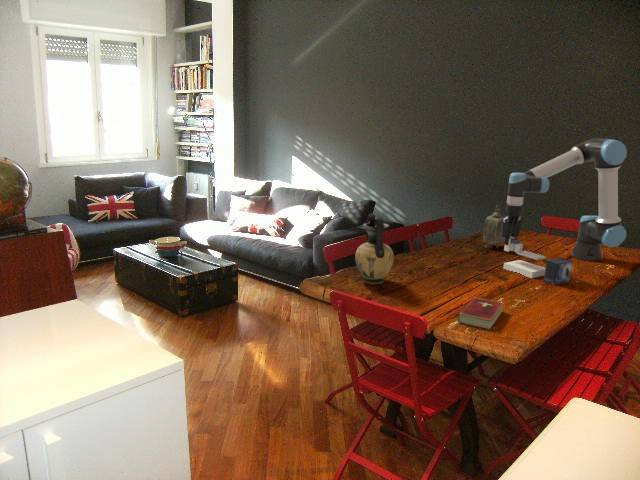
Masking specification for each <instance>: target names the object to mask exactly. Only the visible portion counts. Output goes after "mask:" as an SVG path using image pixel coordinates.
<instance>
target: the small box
mask: <svg viewBox="0 0 640 480" xmlns="http://www.w3.org/2000/svg"><path fill="white" fill-rule="evenodd" d="M573 263H574V262H573V260H570V259H566V258H564V257H559V258H551V259H547V260H546V263H545V268H546V269H545V275H544V277H543V282H546V283H547V284H551V285H553V286H556V285H557V286H558V285H562V284H569V283H570V280H571V274H572V269H573Z"/></svg>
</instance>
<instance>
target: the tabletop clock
mask: <svg viewBox="0 0 640 480" xmlns="http://www.w3.org/2000/svg"><path fill="white" fill-rule="evenodd" d="M500 209H501V205H500V203H498V204H496V206H495V212H493V213H492V214H491V215H488V216H487V217H486V218H485V220H484V225H483V226H484V227H483V233H482V234H483V235H482V241H483V242H487V244H486V245H484V248H485V249H487V248H488V246H489V244H490V245H492V246H494V244H496V245H495V248H496V249H499V248H500V247H499V244H500V243H502V242H504V241H502V240H500V237H501V236H502V226H503V222H502V218H506V216H505V217H504V216H503V215H502V213H501V212H499V211H500Z"/></svg>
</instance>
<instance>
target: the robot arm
mask: <svg viewBox="0 0 640 480" xmlns="http://www.w3.org/2000/svg"><path fill="white" fill-rule="evenodd" d="M627 153H628V150H627V147H626V145H625V144H624V143H623V142H622V141H620V140H616V139H610V138H600V137H597V138H596V137H595V138H591V139H589V140H585V141H584V142H581V143H579V144H577V145H574V146H573V147H572V148H571V150H568V151H566V152H565V153H562V154H560V155H558V156H556V157H554V158H551V159H550V160H548V161H546V162H544V163H542V164H540V165H538V166H535V167H533V168H531V169H529V170H526V171H524V172H512V173H510V175H509V180H508V187H507V197H506V198H507V199H506V205H505V212H506V216H505V218H502V222H503V226H502V237H503V238H505V241H504V248H503V252H510V251H511V252H514V249H515V244H513V243H510V242H511V239H510V237H511V238H514V239H518V237H519V236H520V232H521V227H522V222H523V220H524V217H523V216H521V214H522V213H523V204H524V197H525V193H528V194H530V193H532V194H543V193H544V194H545V193H547V192H548V191H549V189H550V180H549V179H548V178H550V177H552V176H553V175H557V174H559V173H560V172H563V171H564V170H566V169H569V168H571V167H573V166H575V165H582V164H584V163H588V162H594V169H595V170H597V173H598V174H597V176H598V178H597V179H598V181H597V182H598V189H597V190H598V215H582V216H581V217H580V221H579V224H578V225H579V227H578V233H577V234H578V235H577V240H576V243H575V245H574V247H573V248H572V250H571V253H570V254H571V257H573V258H575V259H579V260H581V261H582V260H583V261H589V262H599V261H602V260H603V257H604V256H603V251H602V245H603V246H605V247H608V248H609V247H610V248H615V247H618V246H620V245H621V244H622V243H623V242H624V241H625V240H626V237H627V230H626V229H625V227H624V226H623V225H622V218H621V217H619V193H618V192H619V175H618V174H619V169H620V168H621V167H622V163H623V162H624V161H625V160H626V157H627Z"/></svg>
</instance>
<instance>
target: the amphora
mask: <svg viewBox="0 0 640 480" xmlns="http://www.w3.org/2000/svg"><path fill="white" fill-rule="evenodd" d="M366 221H367V222H365V223H363V224H362V226H363V228H365V231H366V239H365V241H366V242H363V243H362V244H360V245H359V246H358V247H357V249H356V251H355V255H354V256H355V258H354V260H355V265H356V267H357V270H358V271H359V273H360V275H361V276H362V277H363V279H362V281H363V282H365V283H366V284H370V285H376V284H377V285H378V284H382V283H384V281H385V280H384V279H385V277H386V276H387V275H388V273H389V272H390V271H391V269H392V267H393V263H394V251H393V249H392V248H391V247H390V246H389V245H388V244H386V243H384V242H383V240H384V234H385V232H386V229H389V227H390V225H389V224H388V223H384V222H385V221H384V219H383V218H382V217H376V215H375V214H374V213H369V214H368V216H367V219H366Z"/></svg>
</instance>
